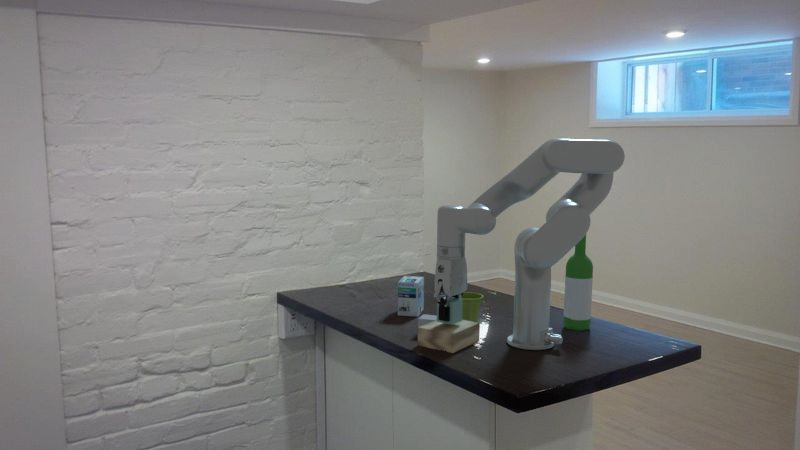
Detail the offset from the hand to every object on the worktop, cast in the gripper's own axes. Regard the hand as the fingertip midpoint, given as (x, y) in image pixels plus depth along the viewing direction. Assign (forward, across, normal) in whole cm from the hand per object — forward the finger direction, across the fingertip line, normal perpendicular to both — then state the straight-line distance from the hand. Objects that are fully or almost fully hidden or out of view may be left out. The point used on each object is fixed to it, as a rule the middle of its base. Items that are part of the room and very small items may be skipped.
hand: (449, 317), depth 191 cm
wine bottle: (+7, +36, -22) cm, 43 cm away
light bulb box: (+7, +21, +27) cm, 35 cm away
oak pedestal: (+7, 0, 0) cm, 7 cm away
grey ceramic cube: (+7, +4, +9) cm, 12 cm away
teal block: (+1, 0, 0) cm, 1 cm away
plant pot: (+7, +20, +6) cm, 22 cm away
